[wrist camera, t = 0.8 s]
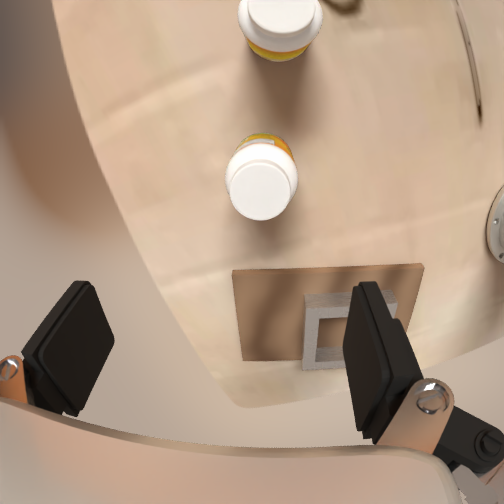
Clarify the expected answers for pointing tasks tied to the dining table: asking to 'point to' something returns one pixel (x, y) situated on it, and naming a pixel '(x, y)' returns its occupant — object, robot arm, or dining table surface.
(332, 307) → the collar
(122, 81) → the dining table surface
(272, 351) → the board
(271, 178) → the supplement bottle
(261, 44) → the supplement bottle
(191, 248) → the dining table surface
